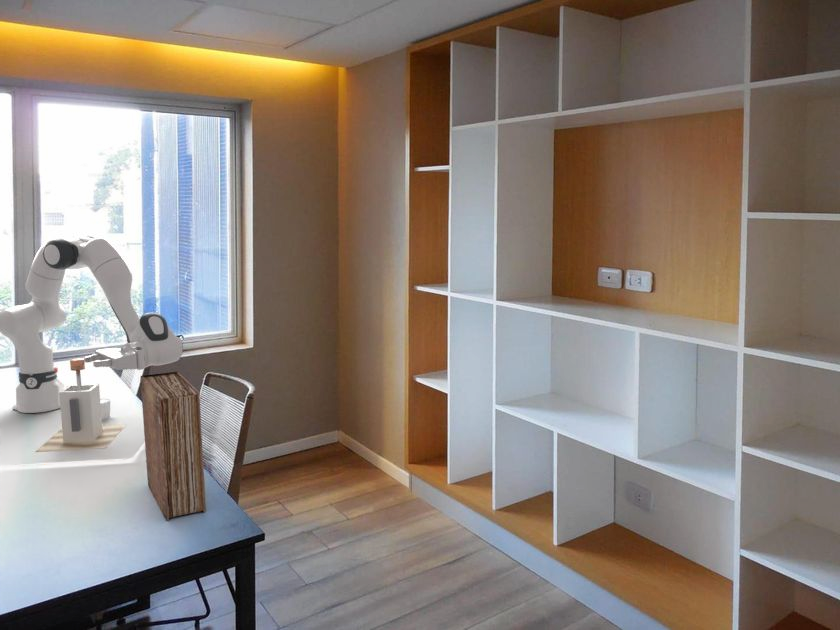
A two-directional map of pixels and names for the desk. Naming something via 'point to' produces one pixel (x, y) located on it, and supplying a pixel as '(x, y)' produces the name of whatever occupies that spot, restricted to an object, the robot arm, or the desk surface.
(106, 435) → the oak board
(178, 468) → the book
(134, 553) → the desk surface
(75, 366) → the plunger
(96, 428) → the slotted white box
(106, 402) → the shot glass
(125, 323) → the robot arm
